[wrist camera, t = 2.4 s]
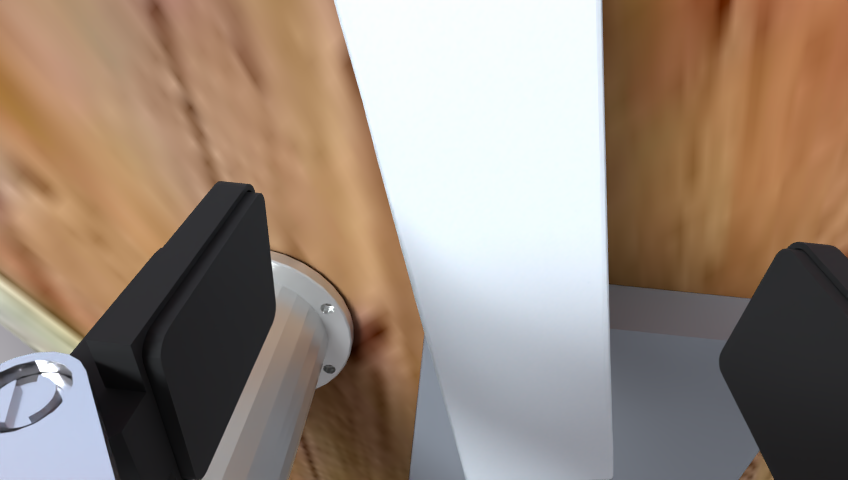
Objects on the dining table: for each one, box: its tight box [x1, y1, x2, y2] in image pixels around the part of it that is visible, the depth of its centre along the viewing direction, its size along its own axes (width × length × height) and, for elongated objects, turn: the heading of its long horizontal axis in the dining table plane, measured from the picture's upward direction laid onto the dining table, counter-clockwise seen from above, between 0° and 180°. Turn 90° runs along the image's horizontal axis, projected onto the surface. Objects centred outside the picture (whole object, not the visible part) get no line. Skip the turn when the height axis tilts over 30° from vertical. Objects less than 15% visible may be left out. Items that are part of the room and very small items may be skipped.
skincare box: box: [334, 0, 613, 480], centre depth 18 cm, size 21×6×16 cm, turn 12°
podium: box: [409, 284, 759, 480], centre depth 37 cm, size 22×22×4 cm
